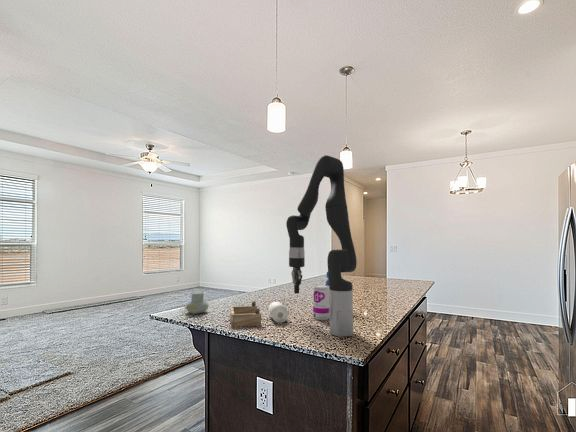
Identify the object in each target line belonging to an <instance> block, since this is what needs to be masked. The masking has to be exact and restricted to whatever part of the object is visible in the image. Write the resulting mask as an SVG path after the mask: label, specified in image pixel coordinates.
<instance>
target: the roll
mask: <svg viewBox="0 0 576 432" xmlns="http://www.w3.org/2000/svg"><path fill="white" fill-rule="evenodd" d="M268 313H269V315H270V316H271V318H272V320H273V321H274V322H275V323H278V324H282V323H284V322H286V321H287V319H288V318H289V317H288V316H289V311H288V309H287V308H286V307H285V306H284V305H283V304H282V303H281V302H279V301H273V302H271V303H270V304H269V306H268Z"/></svg>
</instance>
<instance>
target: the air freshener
mask: <svg viewBox="0 0 576 432" xmlns="http://www.w3.org/2000/svg"><path fill="white" fill-rule="evenodd" d="M208 308H209V304H208V302H207V301H205V300H204V292H203V291H202V292H201V291H194V292H192V293H191V301H189V302H188V303H187V304H186V307H185V309H186V311H188V313H189V314H192V315H200V314H202V313H205V312H206V311H207V310H208Z"/></svg>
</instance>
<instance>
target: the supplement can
mask: <svg viewBox="0 0 576 432" xmlns="http://www.w3.org/2000/svg"><path fill="white" fill-rule="evenodd" d="M312 301H313V302H312V311H313V312H312V316H313V318H314V319H315V320H317V321H328V320H330V288H329V286H326V285H321V284H320V285H314V286H313V289H312Z"/></svg>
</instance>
